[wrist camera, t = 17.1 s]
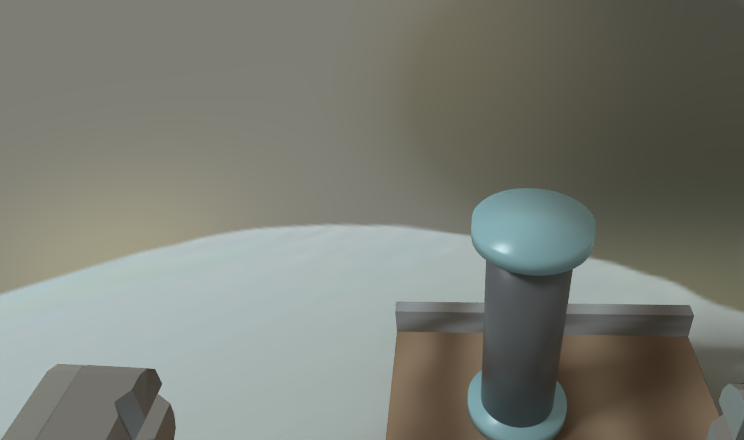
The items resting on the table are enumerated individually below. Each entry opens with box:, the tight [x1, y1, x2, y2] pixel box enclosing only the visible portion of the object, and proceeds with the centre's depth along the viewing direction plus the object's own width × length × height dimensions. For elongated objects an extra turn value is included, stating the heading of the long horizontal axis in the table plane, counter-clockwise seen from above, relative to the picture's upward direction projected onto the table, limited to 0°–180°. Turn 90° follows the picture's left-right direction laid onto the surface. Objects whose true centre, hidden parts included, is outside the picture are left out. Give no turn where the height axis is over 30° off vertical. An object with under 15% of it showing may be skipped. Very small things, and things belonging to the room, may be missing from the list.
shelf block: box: [386, 302, 720, 440], centre depth 41 cm, size 20×14×6 cm
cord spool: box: [468, 188, 596, 440], centre depth 36 cm, size 6×6×14 cm
